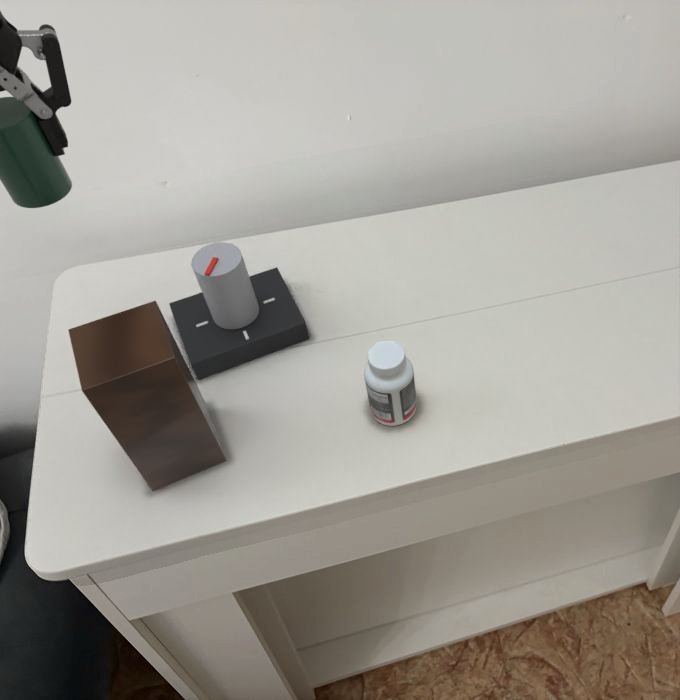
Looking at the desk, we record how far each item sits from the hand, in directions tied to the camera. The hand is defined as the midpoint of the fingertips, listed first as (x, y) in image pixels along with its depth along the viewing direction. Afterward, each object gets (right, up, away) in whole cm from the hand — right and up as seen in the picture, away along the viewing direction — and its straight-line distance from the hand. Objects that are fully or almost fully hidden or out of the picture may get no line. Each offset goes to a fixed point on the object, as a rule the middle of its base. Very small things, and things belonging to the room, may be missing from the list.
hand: (24, 159), depth 63 cm
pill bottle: (+31, -24, +19) cm, 43 cm away
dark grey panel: (+11, -14, +27) cm, 32 cm away
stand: (+8, -28, +15) cm, 33 cm away
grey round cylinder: (+11, -12, +24) cm, 29 cm away
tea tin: (0, -2, +3) cm, 3 cm away
